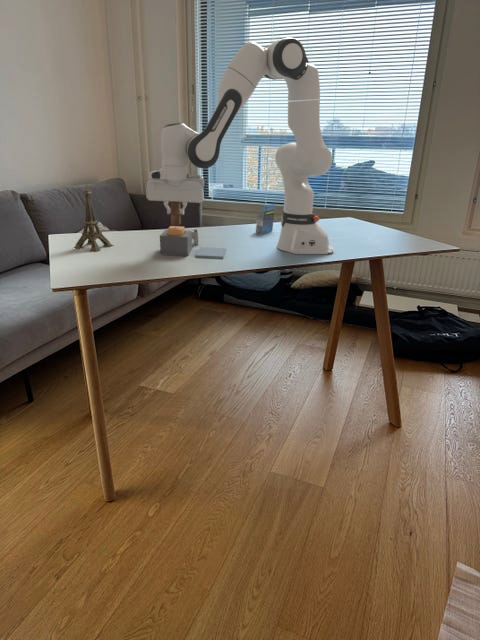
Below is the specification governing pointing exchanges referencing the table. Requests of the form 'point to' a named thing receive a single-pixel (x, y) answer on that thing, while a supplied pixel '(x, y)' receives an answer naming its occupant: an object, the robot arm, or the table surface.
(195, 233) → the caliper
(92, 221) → the eiffel tower
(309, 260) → the table surface
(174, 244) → the box
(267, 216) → the label tape box
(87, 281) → the table surface
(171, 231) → the button
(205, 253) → the rest pad
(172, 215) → the brown rectangular block
